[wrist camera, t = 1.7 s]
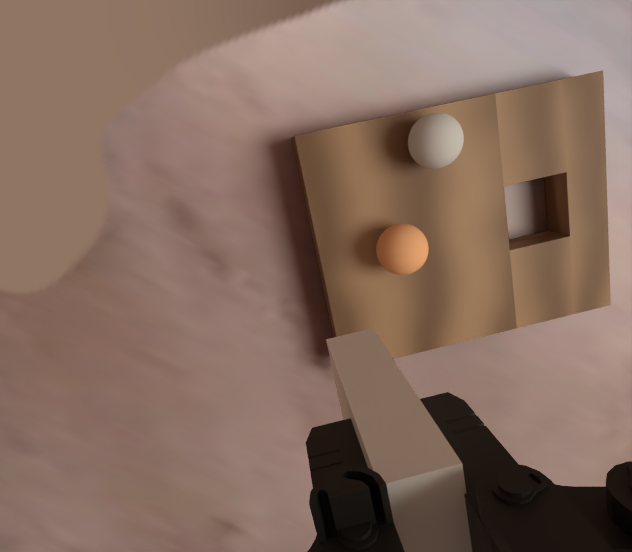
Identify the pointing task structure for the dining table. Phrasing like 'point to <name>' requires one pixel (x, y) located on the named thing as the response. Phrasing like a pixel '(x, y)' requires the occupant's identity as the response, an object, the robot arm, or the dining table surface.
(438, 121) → the grey ball
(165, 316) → the dining table surface
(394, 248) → the ball
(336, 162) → the board
